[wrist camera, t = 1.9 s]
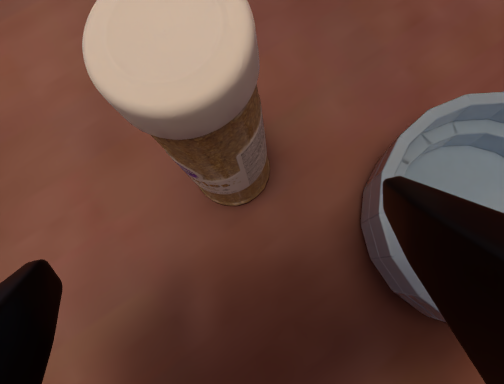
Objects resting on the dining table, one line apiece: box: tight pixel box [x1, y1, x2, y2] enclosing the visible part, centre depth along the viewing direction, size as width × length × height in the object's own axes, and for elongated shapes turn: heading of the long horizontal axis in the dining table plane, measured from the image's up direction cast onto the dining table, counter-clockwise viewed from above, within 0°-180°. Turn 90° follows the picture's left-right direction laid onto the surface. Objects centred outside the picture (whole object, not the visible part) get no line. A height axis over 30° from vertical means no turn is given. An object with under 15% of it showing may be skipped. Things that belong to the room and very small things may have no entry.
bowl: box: [361, 92, 504, 323], centre depth 18 cm, size 11×11×4 cm
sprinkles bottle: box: [82, 0, 270, 206], centre depth 15 cm, size 5×5×14 cm
